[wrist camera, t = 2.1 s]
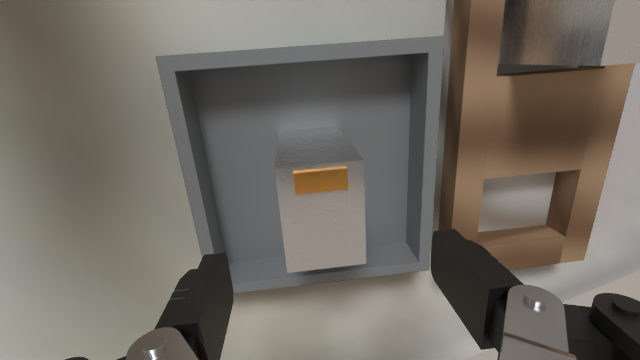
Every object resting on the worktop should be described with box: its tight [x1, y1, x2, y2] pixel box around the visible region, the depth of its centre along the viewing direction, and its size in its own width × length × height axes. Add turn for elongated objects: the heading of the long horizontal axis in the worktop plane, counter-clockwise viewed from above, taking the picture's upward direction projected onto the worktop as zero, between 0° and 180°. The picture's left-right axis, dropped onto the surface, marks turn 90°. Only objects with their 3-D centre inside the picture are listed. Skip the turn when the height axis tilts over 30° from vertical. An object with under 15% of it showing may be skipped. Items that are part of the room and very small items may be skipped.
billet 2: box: [498, 0, 640, 66], centre depth 17 cm, size 4×6×8 cm
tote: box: [155, 36, 443, 294], centre depth 22 cm, size 16×16×4 cm
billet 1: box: [274, 126, 366, 273], centre depth 19 cm, size 4×6×8 cm
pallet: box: [431, 0, 635, 269], centre depth 22 cm, size 22×11×3 cm, turn 4°
